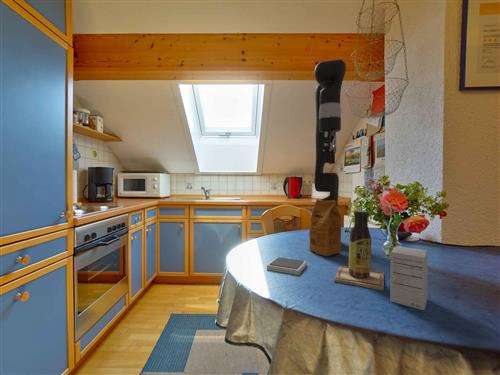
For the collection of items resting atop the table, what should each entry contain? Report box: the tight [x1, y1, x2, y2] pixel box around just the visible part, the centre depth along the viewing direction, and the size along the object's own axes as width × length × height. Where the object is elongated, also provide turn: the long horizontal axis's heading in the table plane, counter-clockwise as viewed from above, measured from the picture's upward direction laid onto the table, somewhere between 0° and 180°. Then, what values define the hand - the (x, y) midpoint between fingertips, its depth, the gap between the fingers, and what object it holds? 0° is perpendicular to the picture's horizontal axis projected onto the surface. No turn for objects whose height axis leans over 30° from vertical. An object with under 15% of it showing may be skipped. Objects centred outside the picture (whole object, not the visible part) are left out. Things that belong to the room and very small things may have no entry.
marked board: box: [333, 265, 385, 291], centre depth 78 cm, size 13×13×1 cm
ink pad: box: [266, 256, 308, 276], centre depth 88 cm, size 10×11×2 cm
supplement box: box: [389, 245, 429, 311], centre depth 64 cm, size 7×7×13 cm
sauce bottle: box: [347, 210, 372, 278], centre depth 78 cm, size 6×6×20 cm
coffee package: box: [308, 198, 342, 257], centre depth 105 cm, size 10×12×22 cm
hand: (329, 163), depth 92 cm, fingers open, 8 cm apart
